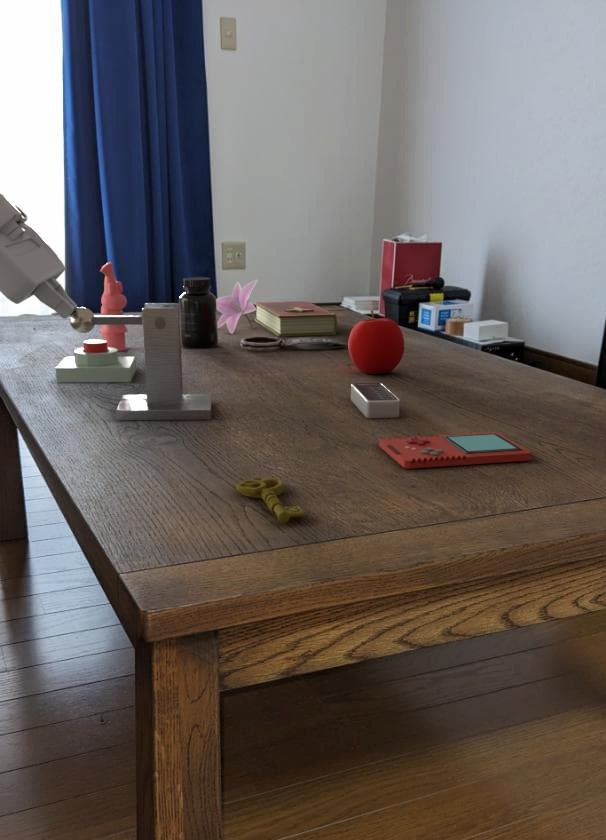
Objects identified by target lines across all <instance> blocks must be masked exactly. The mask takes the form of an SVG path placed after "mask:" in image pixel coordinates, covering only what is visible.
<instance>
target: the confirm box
mask: <svg viewBox="0 0 606 840" xmlns="http://www.w3.org/2000/svg"><path fill="white" fill-rule="evenodd" d="M136 361H137V360H136V356H119V351H118V349H115V348H111V347H108V352H102V353H86V352H84V347H80V348H76V349H75V350H74V351H73V356H65V357H64V358H63V359H62V360H61V361H60V363H58V365H57V366H56V367H55V376H56V383H131V382H132V379H133V378H134V376H135V373H136V371H137V363H136Z"/></svg>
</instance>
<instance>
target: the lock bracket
mask: <svg viewBox="0 0 606 840" xmlns="http://www.w3.org/2000/svg"><path fill="white" fill-rule="evenodd" d="M141 316H142V320H143V325H142V335H143V354H144V372H145V389H146V394H123V395H122V397H121V399H120V401H119V404H118V406H117V408H116V410H115V416H116V417H115V418H116V421H201V420H202V421H203V420H204V421H205V420H206V421H210V420H211V419H212V403H213V399H212V393H184V387H183V384H184V383H183V365H182V364H183V363H182V362H183V361H182V343H181V330H180V310H179V302H145V303H144V307H142V308H141Z"/></svg>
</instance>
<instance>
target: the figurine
mask: <svg viewBox="0 0 606 840" xmlns="http://www.w3.org/2000/svg"><path fill="white" fill-rule="evenodd" d="M113 266H114V265H113V263H112V262H109V261H108V262H106V264H104V265H103V266H101V269H100V270H99V272H100V273H102V274H103V275H104V282H103V287H104V289H103V293H102V295H101V298H100V301H101V302H100V303H101V304H102V305H101V307H100V316H125V314H124V311H123V309H124V308H125V307H126V305H127V303H128V301H127V298H126V295H124V294H122V293H123V290H124V289H123V284H122V282H121V281H117V278H116V274H115V272H114V269H113ZM128 331H129V330H128V328H127V326H126V325H101V328H100V329H99V333H101V335H102V340H106V341H107V346H108V347H111V348H115V349H118V352H123V351H126V349H127V347H126V334H125V333H127V332H128Z"/></svg>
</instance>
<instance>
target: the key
mask: <svg viewBox="0 0 606 840" xmlns="http://www.w3.org/2000/svg"><path fill="white" fill-rule="evenodd" d="M235 490H236V491H237V492H239V493H241V495H243V496H245V497H249V498H254V499H262V500H263V502H264V503H265V505H266V506H267V508H268V510H269V511H270V513H271V514H272V515H276V516H277V520H278V522H279V523H282V524H285V523H288V522H289V520H290V519H291V518H299V517H305V512H304V510H303V509H302V508H301V506H299V505H292V506H284V504H283V503H282V501H281V500H280V498H279V497H278V496H280V495H281V494H283V493H284V491H285V483H284V481H283V480H282V479H280V478H274V477H271V478H264V477H254V478H252V479H246V480H242V481H240V483H237V484H236V485H235Z"/></svg>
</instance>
